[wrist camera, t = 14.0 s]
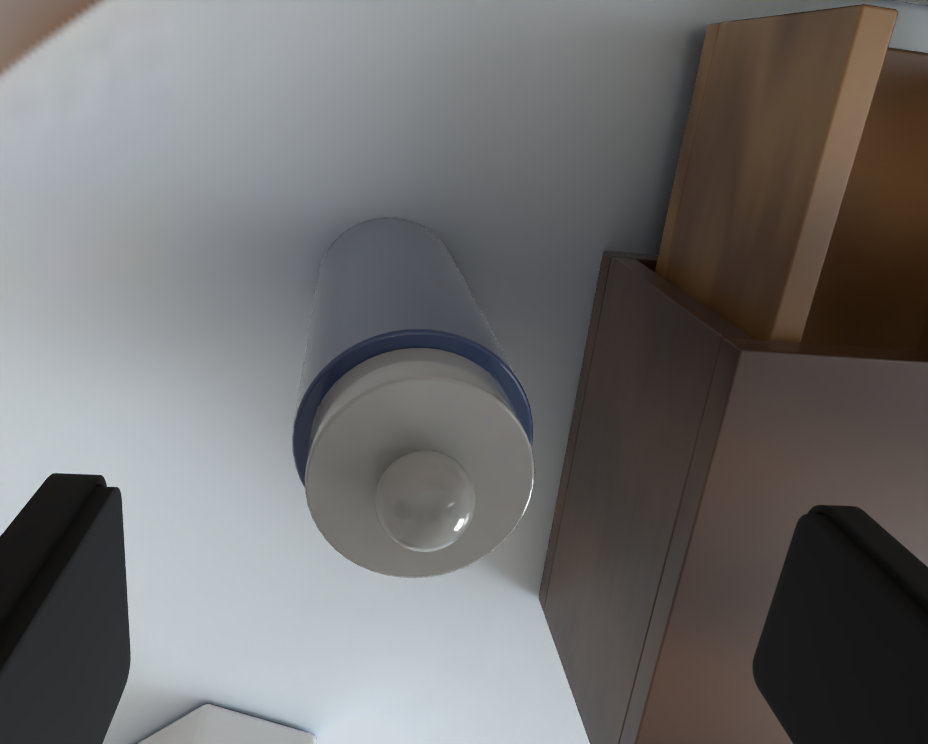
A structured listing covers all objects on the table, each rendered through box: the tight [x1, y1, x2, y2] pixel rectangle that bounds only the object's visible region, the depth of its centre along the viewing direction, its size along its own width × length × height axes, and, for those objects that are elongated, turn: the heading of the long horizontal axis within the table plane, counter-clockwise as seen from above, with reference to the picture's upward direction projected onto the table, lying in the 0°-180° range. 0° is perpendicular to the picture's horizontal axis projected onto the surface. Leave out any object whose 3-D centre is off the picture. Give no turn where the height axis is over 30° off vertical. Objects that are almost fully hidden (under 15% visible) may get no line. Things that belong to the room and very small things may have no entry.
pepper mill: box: [292, 218, 535, 578], centre depth 17 cm, size 4×4×13 cm
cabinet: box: [539, 251, 928, 744], centre depth 23 cm, size 14×13×9 cm
